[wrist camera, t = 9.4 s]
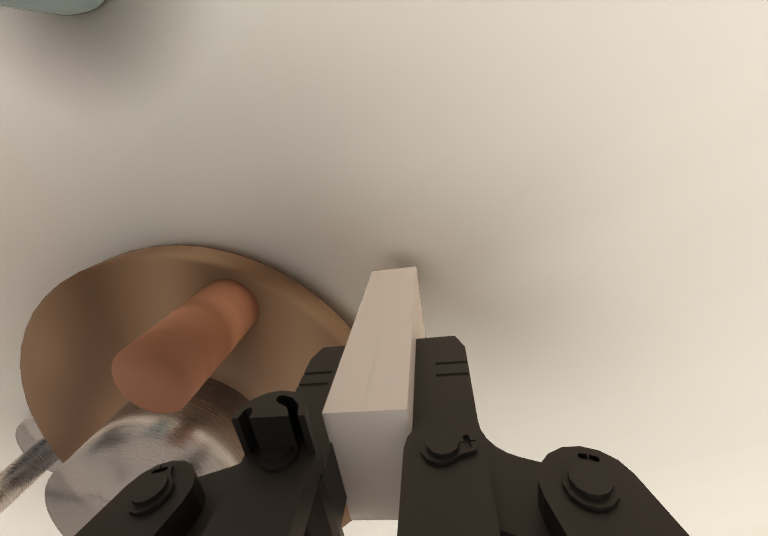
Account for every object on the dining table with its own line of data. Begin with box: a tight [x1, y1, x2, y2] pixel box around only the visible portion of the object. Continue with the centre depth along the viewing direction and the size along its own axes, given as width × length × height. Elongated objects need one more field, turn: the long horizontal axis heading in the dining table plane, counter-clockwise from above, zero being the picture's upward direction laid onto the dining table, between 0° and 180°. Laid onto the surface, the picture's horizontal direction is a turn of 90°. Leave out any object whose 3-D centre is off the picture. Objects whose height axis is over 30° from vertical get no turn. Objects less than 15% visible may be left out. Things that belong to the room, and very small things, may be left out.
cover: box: [45, 378, 250, 536], centre depth 15 cm, size 7×7×6 cm
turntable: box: [20, 245, 352, 527], centre depth 17 cm, size 18×18×6 cm
